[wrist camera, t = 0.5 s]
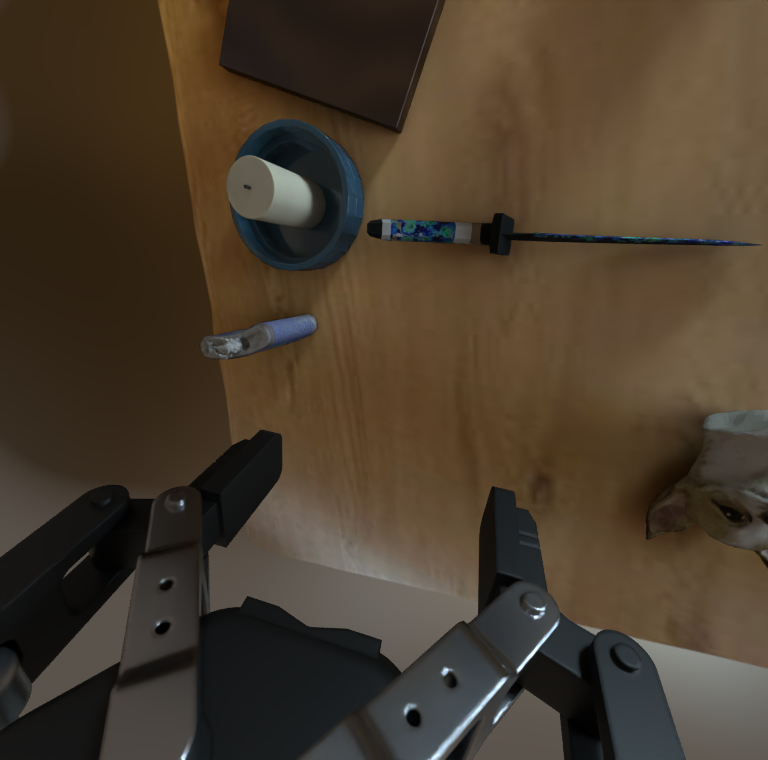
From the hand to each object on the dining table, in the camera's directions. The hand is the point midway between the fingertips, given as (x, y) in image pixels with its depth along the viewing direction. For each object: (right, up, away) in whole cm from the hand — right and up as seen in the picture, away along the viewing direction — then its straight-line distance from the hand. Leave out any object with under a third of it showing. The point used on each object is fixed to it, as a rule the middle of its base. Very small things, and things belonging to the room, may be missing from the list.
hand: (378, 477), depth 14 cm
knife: (+14, +16, +20) cm, 29 cm away
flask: (-11, +9, +31) cm, 34 cm away
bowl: (-8, +22, +26) cm, 35 cm away
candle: (-8, +22, +26) cm, 35 cm away
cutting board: (-5, +36, +20) cm, 42 cm away
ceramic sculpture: (+30, -4, +20) cm, 37 cm away
